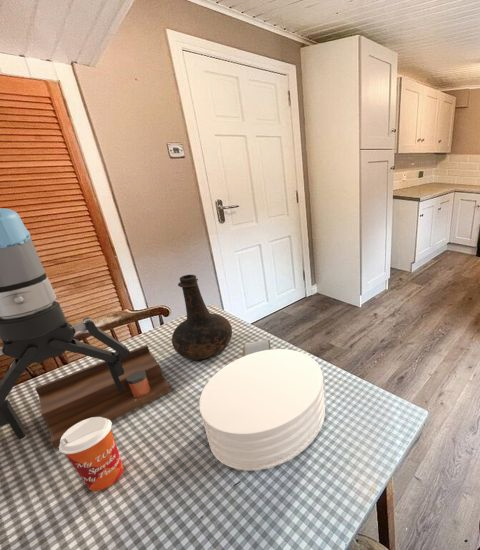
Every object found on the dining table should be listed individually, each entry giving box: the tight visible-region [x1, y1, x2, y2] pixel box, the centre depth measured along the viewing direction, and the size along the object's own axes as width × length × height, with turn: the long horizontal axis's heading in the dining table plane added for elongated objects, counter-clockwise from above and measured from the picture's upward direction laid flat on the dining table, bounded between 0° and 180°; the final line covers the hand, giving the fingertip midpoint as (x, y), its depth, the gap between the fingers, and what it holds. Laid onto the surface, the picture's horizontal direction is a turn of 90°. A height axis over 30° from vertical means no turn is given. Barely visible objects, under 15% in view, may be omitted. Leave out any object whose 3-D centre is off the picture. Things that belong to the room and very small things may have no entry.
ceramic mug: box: [242, 338, 272, 357], centre depth 95 cm, size 11×8×8 cm
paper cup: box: [58, 417, 124, 492], centre depth 61 cm, size 8×8×14 cm
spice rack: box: [34, 344, 173, 449], centre depth 81 cm, size 16×24×9 cm, turn 138°
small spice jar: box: [126, 371, 151, 397], centre depth 81 cm, size 4×4×5 cm
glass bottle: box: [171, 274, 233, 361], centre depth 99 cm, size 18×18×28 cm
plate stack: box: [198, 348, 326, 472], centre depth 75 cm, size 28×28×12 cm
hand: (75, 410), depth 56 cm, fingers open, 13 cm apart
